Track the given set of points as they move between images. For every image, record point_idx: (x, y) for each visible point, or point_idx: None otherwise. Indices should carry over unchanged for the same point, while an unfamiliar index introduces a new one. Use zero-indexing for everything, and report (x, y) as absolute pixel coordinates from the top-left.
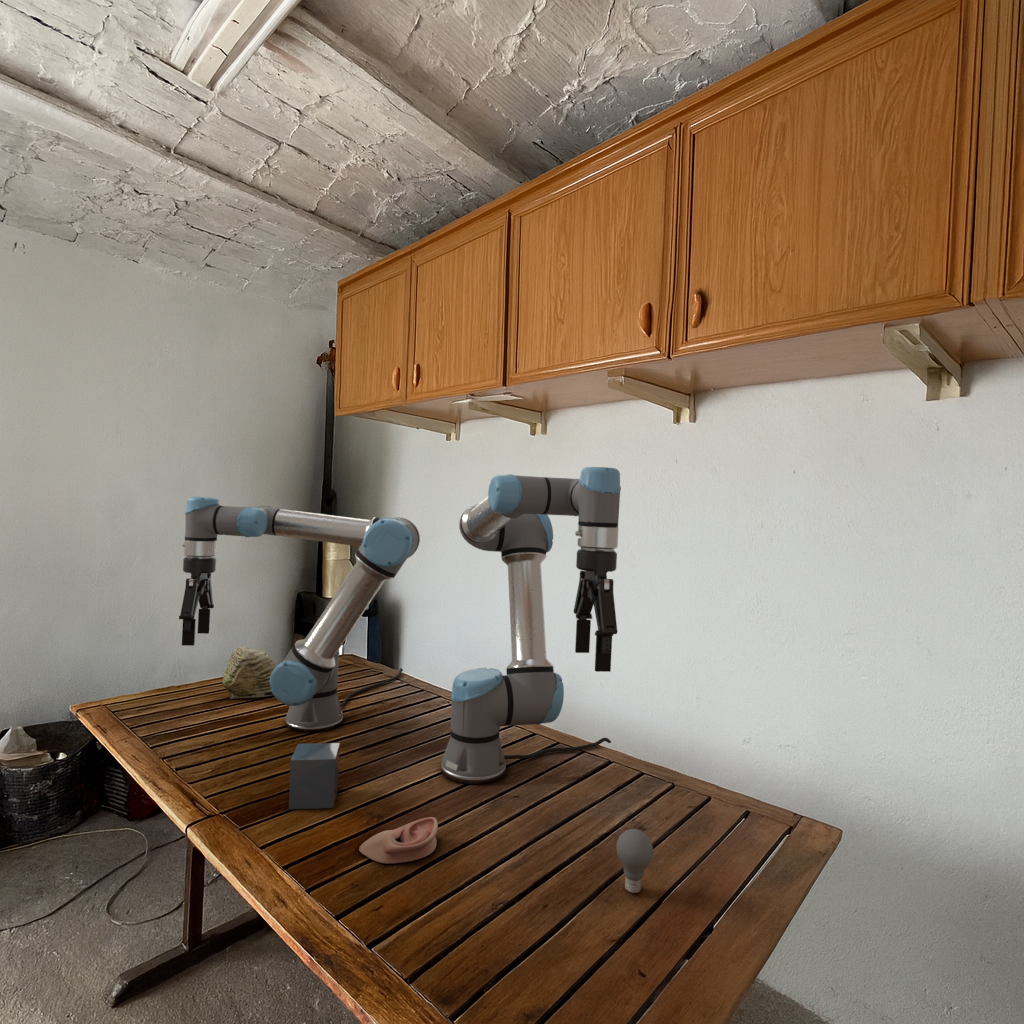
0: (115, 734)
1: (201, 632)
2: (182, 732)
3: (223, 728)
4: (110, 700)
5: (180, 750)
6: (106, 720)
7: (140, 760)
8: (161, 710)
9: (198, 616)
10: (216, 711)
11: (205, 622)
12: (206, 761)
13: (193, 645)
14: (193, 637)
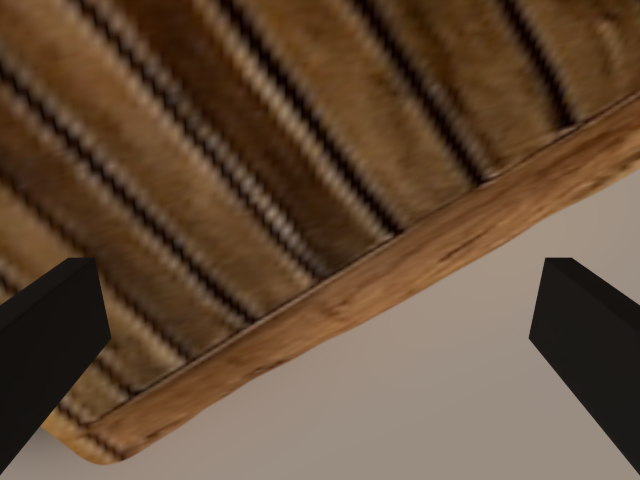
0: (295, 339)
1: (100, 315)
2: (290, 188)
3: (261, 72)
4: (48, 427)
5: (431, 154)
6: (197, 388)
7: (481, 232)
8: (110, 294)
9: (8, 463)
10: (100, 137)
11: (35, 344)
12: (533, 56)
13: (572, 258)
14: (620, 293)
